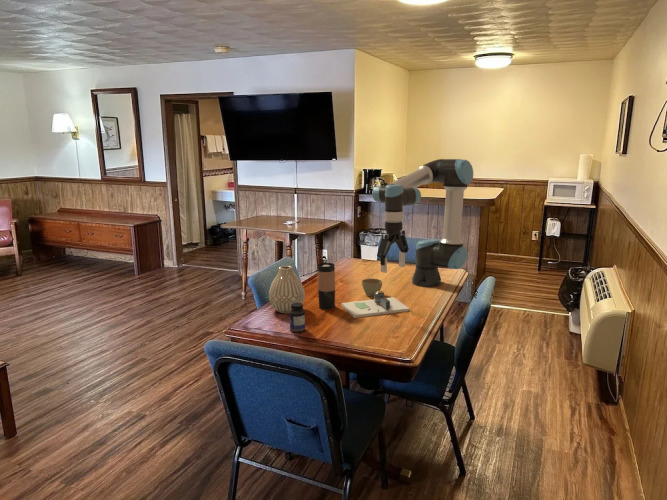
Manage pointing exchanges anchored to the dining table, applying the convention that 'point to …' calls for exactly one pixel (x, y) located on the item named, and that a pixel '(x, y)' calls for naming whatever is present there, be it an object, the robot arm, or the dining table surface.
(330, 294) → the travel mug
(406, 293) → the dining table surface
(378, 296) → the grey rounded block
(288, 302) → the vase
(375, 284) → the flower pot
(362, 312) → the board
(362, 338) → the dining table surface
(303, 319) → the pill bottle
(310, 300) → the dining table surface
